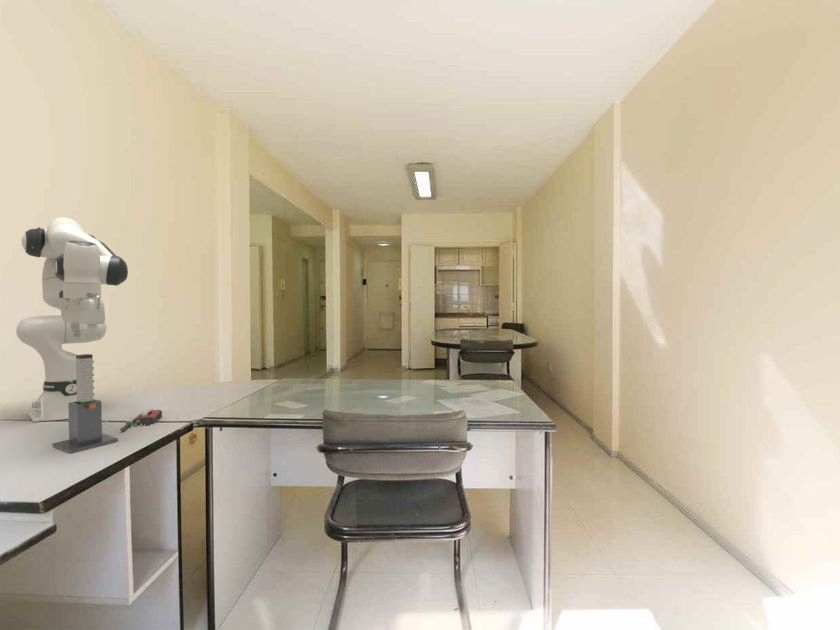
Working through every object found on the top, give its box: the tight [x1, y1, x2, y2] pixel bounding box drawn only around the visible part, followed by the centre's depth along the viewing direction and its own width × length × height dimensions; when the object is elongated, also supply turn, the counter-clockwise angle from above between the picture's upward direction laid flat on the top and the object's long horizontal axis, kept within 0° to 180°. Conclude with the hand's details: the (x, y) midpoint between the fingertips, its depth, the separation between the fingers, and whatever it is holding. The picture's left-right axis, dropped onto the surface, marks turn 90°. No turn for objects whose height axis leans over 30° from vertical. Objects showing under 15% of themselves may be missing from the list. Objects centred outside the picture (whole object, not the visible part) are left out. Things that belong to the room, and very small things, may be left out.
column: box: [76, 353, 95, 404], centre depth 122 cm, size 3×4×20 cm
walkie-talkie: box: [120, 408, 163, 432], centre depth 144 cm, size 9×4×20 cm
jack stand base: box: [51, 398, 119, 454], centre depth 122 cm, size 12×12×13 cm
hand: (83, 337), depth 124 cm, fingers open, 8 cm apart
